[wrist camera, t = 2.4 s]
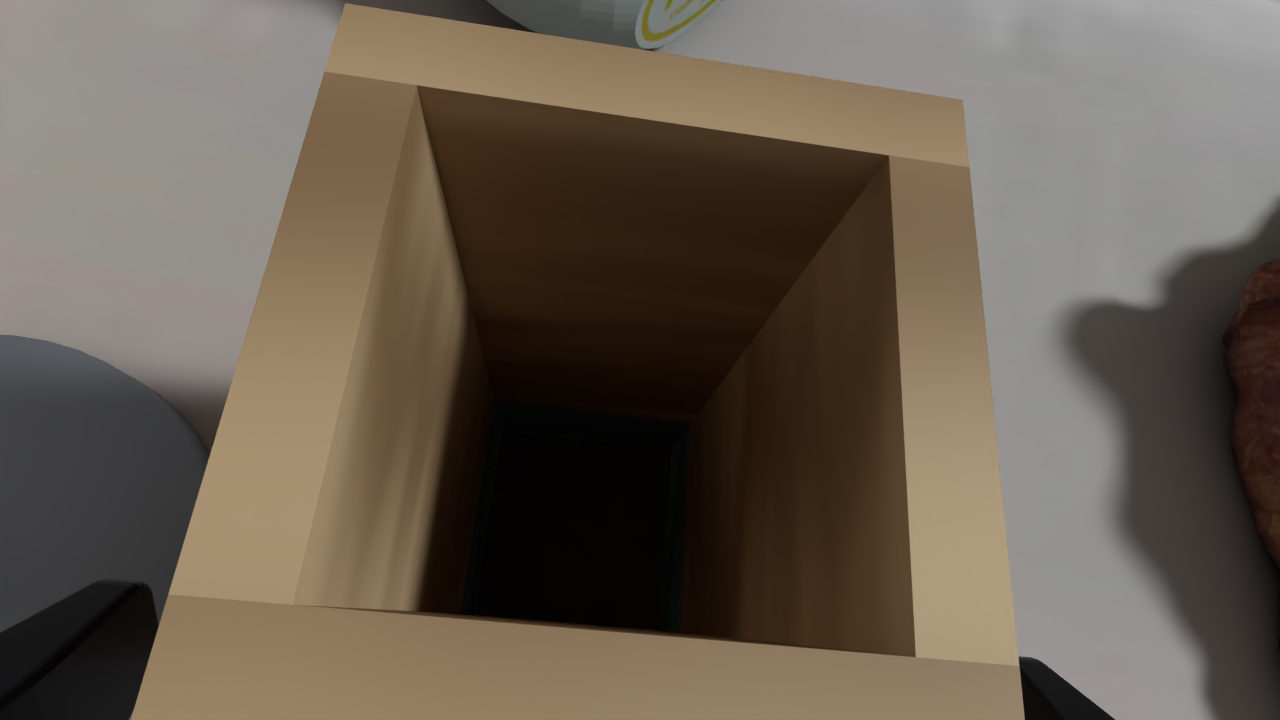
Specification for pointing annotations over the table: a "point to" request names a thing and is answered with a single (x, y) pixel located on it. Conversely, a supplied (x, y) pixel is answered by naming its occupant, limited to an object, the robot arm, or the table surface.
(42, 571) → the pin stand
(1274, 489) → the pastry
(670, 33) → the air freshener
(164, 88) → the table surface
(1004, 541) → the banded sleeve
